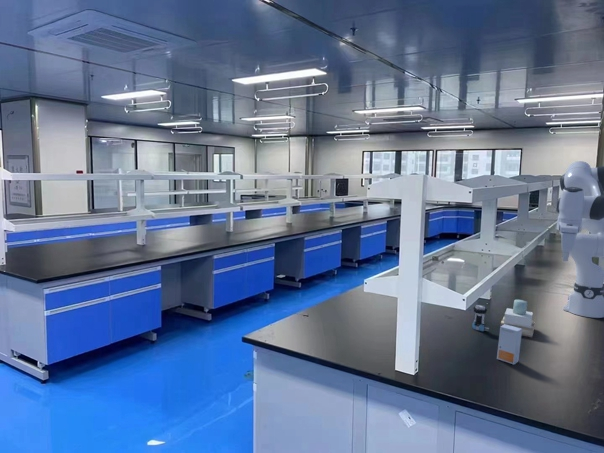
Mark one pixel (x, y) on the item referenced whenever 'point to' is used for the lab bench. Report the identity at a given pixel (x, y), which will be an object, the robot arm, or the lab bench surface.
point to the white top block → (518, 318)
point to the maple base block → (525, 330)
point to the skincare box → (509, 344)
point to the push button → (479, 318)
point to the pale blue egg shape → (520, 307)
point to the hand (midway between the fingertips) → (565, 259)
